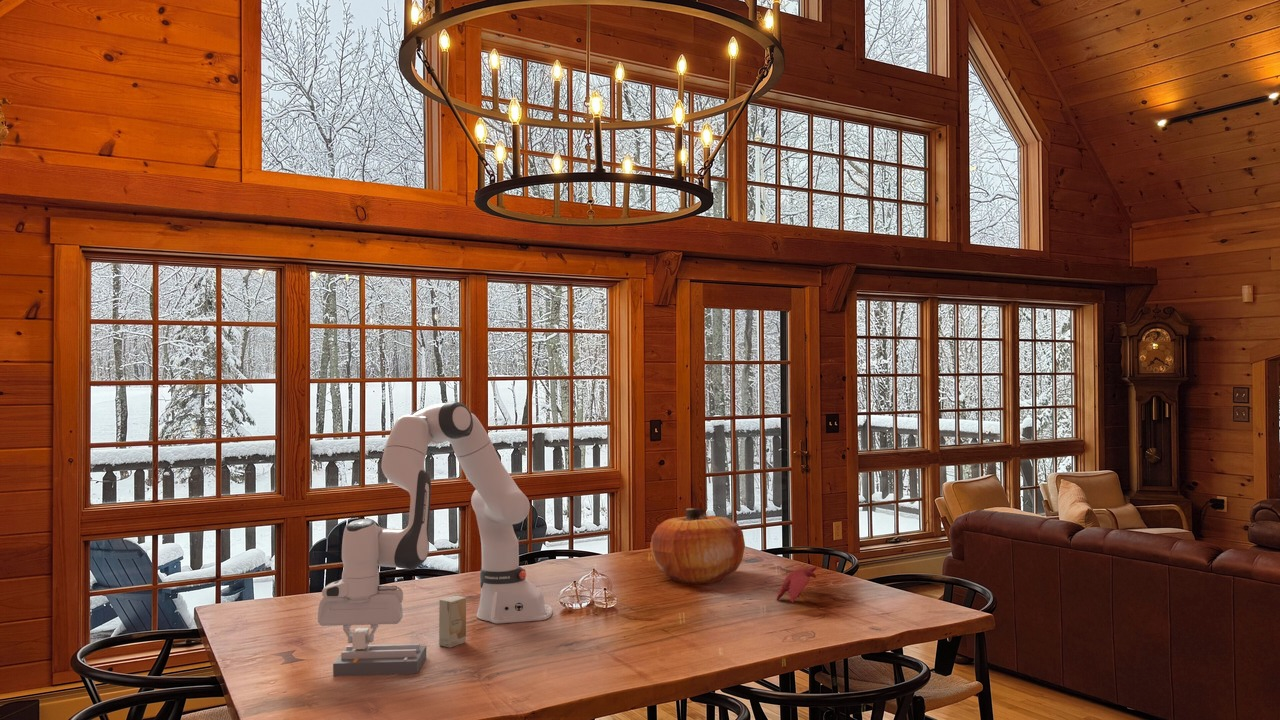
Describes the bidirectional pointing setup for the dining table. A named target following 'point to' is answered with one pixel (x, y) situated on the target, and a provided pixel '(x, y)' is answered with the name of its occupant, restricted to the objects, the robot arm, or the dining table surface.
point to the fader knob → (360, 639)
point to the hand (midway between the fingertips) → (360, 642)
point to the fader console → (380, 660)
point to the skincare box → (452, 621)
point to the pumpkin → (698, 547)
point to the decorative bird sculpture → (796, 583)
